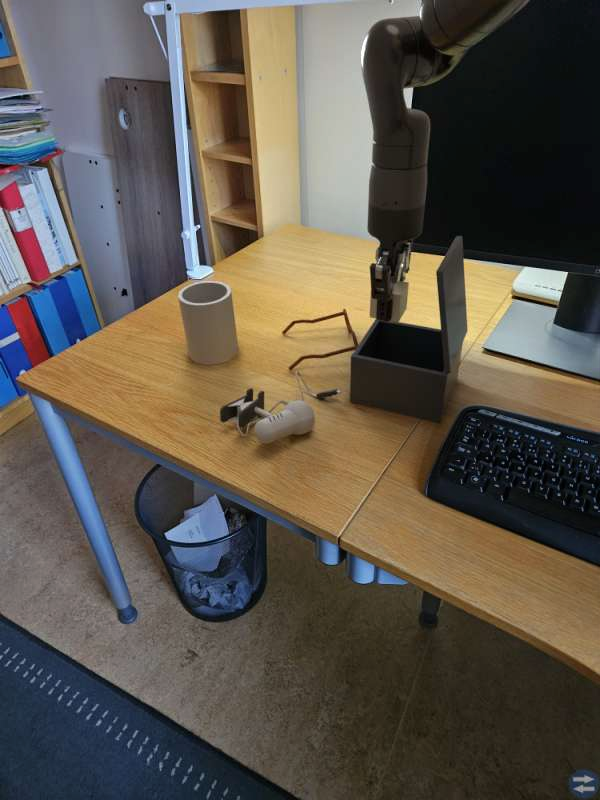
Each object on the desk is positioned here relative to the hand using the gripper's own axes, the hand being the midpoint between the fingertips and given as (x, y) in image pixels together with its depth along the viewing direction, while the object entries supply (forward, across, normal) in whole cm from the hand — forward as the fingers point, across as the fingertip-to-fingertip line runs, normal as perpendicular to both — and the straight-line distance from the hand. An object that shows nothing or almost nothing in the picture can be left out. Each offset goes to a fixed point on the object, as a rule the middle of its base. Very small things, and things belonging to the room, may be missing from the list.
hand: (388, 311), depth 85 cm
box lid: (-3, 0, -9) cm, 9 cm away
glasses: (+14, +7, +14) cm, 21 cm away
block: (0, 0, 0) cm, 0 cm away
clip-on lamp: (+14, -14, +12) cm, 23 cm away
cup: (+14, -1, +32) cm, 35 cm away
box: (+14, 0, -4) cm, 14 cm away
